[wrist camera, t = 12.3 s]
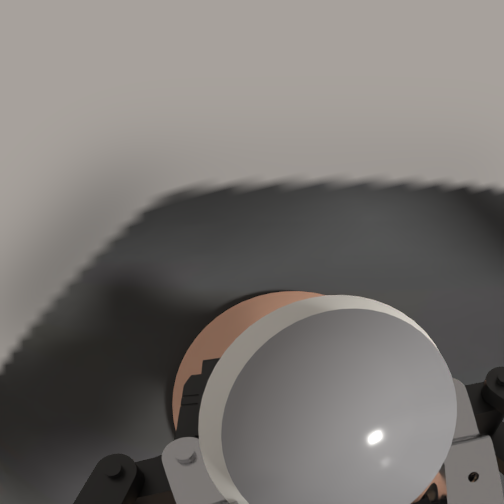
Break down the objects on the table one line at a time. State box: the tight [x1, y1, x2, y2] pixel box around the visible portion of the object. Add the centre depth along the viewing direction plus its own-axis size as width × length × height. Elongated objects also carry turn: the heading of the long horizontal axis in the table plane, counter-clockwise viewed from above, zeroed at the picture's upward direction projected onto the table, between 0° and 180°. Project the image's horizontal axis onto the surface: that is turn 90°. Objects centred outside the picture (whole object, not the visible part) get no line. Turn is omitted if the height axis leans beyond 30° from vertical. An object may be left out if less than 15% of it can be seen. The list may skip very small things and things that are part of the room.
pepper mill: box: [198, 295, 457, 504], centre depth 9 cm, size 5×5×12 cm
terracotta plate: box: [172, 291, 325, 429], centre depth 15 cm, size 14×14×1 cm
